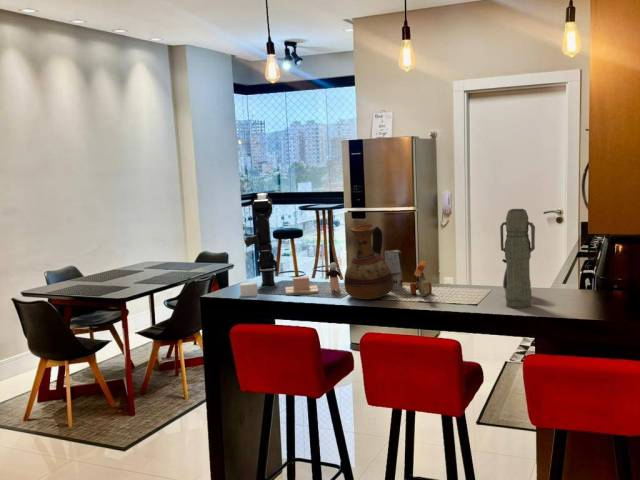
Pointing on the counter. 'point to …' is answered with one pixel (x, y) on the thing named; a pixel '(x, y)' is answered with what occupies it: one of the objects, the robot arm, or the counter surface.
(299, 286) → the terracotta brick
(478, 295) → the counter surface
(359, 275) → the ceramic pitcher
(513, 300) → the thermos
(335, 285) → the grandmother figurine
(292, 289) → the oak board
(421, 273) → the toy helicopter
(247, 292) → the offwhite brick
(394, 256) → the coffee box
